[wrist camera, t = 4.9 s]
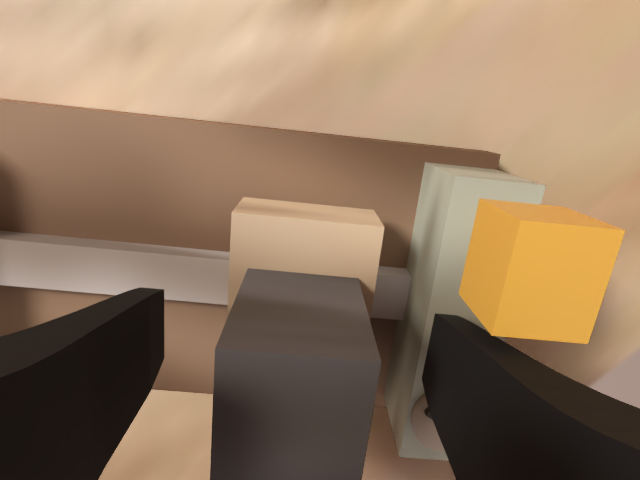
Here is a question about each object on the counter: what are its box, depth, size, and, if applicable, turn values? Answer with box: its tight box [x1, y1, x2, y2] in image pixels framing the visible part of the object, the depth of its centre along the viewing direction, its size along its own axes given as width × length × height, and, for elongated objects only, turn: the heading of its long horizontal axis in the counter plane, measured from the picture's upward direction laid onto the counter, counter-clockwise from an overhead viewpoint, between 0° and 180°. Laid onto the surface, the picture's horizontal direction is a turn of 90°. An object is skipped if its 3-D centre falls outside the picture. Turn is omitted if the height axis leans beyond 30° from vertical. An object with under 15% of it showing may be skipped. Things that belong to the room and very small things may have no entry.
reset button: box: [459, 198, 625, 344], centre depth 9 cm, size 2×2×2 cm
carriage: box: [210, 197, 385, 480], centre depth 11 cm, size 6×4×6 cm, turn 174°
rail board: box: [0, 99, 546, 461], centre depth 13 cm, size 10×20×5 cm, turn 84°
